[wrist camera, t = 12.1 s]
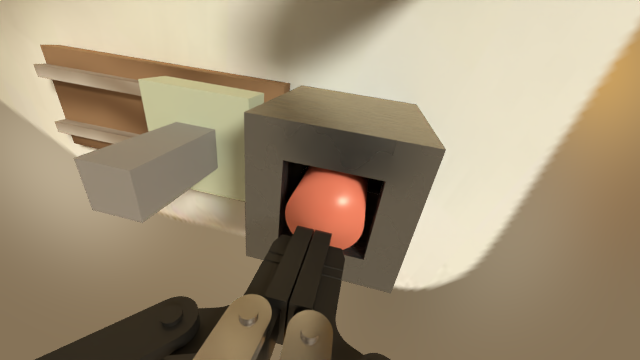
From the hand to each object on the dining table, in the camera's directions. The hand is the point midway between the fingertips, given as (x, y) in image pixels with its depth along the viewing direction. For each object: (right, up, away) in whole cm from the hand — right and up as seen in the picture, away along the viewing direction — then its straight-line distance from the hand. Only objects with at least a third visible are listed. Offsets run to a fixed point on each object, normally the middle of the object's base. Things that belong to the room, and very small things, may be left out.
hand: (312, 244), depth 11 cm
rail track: (-13, +9, +13) cm, 21 cm away
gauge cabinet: (+3, +5, +11) cm, 13 cm away
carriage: (-8, +6, +10) cm, 14 cm away
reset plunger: (+2, +3, +7) cm, 8 cm away
